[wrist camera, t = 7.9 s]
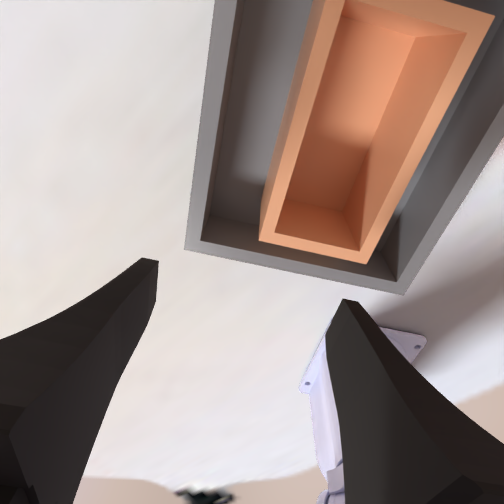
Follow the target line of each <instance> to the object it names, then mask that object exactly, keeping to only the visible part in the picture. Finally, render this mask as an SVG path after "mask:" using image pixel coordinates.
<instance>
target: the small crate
mask: <svg viewBox="0 0 504 504" xmlns="http://www.w3.org/2000/svg"><path fill="white" fill-rule="evenodd" d="M494 18H495V16H494V15H491V14H488V13H484V12H481V11H477V10H474V9H471V8H467V7H464V6H461V5H457V4H454V3H451V2H447V1H444V0H313V2H312V6H311V10H310V14H309V18H308V21H307V25H306V29H305V33H304V37H303V41H302V44H301V48H300V52H299V56H298V60H297V63H296V67H295V71H294V75H293V79H292V83H291V86H290V90H289V94H288V98H287V102H286V105H285V109H284V113H283V117H282V121H281V124H280V128H279V132H278V136H277V140H276V144H275V147H274V151H273V155H272V159H271V163H270V166H269V170H268V174H267V178H266V182H265V186H264V189H263V193H262V197H261V208H260V226H259V241H263V242H267V243H272V244H276V245H281V246H285V247H290V248H294V249H299V250H304V251H308V252H313V253H317V254H322V255H326V256H331V257H335V258H340V259H344V260H349V261H353V262H358V263H362V264H367V262H368V260H369V258H370V256H371V254H372V253H373V251H374V249H375V247H376V245H377V243H378V241H379V239H380V237H381V235H382V233H383V231H384V229H385V228H386V226H387V224H388V222H389V220H390V218H391V216H392V214H393V212H394V210H395V208H396V206H397V204H398V203H399V201H400V199H401V197H402V195H403V193H404V191H405V189H406V187H407V185H408V183H409V181H410V179H411V177H412V176H413V174H414V172H415V170H416V168H417V166H418V164H419V162H420V160H421V158H422V156H423V154H424V152H425V151H426V149H427V147H428V145H429V143H430V141H431V139H432V137H433V135H434V133H435V131H436V129H437V127H438V125H439V124H440V122H441V120H442V118H443V116H444V114H445V112H446V110H447V108H448V106H449V104H450V102H451V100H452V99H453V97H454V95H455V93H456V91H457V89H458V87H459V85H460V83H461V81H462V79H463V77H464V75H465V73H466V72H467V70H468V68H469V66H470V64H471V62H472V60H473V58H474V56H475V54H476V52H477V50H478V48H479V47H480V45H481V43H482V41H483V39H484V37H485V35H486V33H487V31H488V29H489V27H490V25H491V23H492V22H493V20H494Z"/></svg>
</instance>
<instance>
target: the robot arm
mask: <svg viewBox="0 0 504 504" xmlns="http://www.w3.org/2000/svg"><path fill="white" fill-rule="evenodd" d="M158 264H159V261H157V260H152V259H147V258H141V259H139V260H138V261H137V262H135V263H134V264H133V265H131V266H130V267H129V268H128V269H126V270H125V271H124V272H122V273H121V274H120V275H118V276H117V277H116V278H114V279H113V280H111V281H110V282H109V283H107V284H106V285H104V286H103V287H102V288H100V289H99V290H97V291H95V292H94V293H92V294H91V295H89V296H88V297H86V298H84V299H83V300H81V301H80V302H78V303H76V304H75V305H73V306H71V307H69V308H68V309H66V310H64V311H62V312H60V313H58V314H57V315H55V316H53V317H51V318H49V319H47V320H45V321H42V322H40V323H38V324H36V325H33V326H31V327H29V328H27V329H25V330H22V331H20V332H18V333H16V334H13V335H11V336H8V337H6V338H3V339H0V504H73V501H74V498H75V495H76V492H77V490H78V487H79V484H80V481H81V478H82V475H83V473H84V470H85V467H86V464H87V462H88V459H89V456H90V453H91V451H92V448H93V445H94V442H95V440H96V437H97V434H98V432H99V429H100V427H101V424H102V421H103V419H104V416H105V413H106V411H107V408H108V406H109V403H110V401H111V398H112V396H113V393H114V391H115V388H116V386H117V384H118V382H119V379H120V377H121V375H122V373H123V371H124V369H125V367H126V365H127V364H128V362H129V360H130V358H131V356H132V354H133V352H134V350H135V348H136V346H137V344H138V342H139V340H140V338H141V336H142V334H143V332H144V330H145V328H146V326H147V324H148V321H149V319H150V316H151V313H152V311H153V308H154V305H155V302H156V291H157V278H158ZM426 343H427V340H426V338H425V337H424V336H422V335H417V334H412V333H407V332H402V331H397V330H392V329H387V328H382V327H378V325H377V324H376V323H375V322H374V320H373V319H372V318H371V317H370V315H369V314H368V313H367V312H366V311H365V309H364V308H363V307H362V306H361V305H360V304H359V302H357V301H352V300H347V299H342V301H341V303H340V305H339V307H338V309H337V311H336V313H335V315H334V317H333V319H332V321H331V322H330V324H329V326H328V328H327V330H326V332H325V334H324V336H323V338H322V340H321V342H320V344H319V346H318V348H317V350H316V352H315V354H314V356H313V358H312V360H311V362H310V364H309V366H308V368H307V370H306V372H305V374H304V376H303V378H302V380H301V383H300V385H299V391H300V392H301V393H306V394H309V399H310V408H311V417H312V426H313V435H314V443H315V452H316V458H317V462H318V465H319V468H320V470H321V472H322V474H323V476H324V477H325V479H326V481H327V482H328V490H324V491H323V492H321V493H320V495H319V496H318V499H317V503H316V504H504V444H503V443H502V442H500V441H499V440H498V439H496V438H495V437H494V436H492V435H491V434H490V433H488V432H487V431H486V430H484V429H483V428H482V427H480V426H479V425H478V424H476V423H475V422H474V421H473V420H471V419H470V418H469V417H468V416H466V415H465V414H464V413H463V412H462V411H460V410H459V409H458V408H457V407H456V406H455V405H453V404H452V403H451V402H450V401H449V400H448V399H446V398H445V397H444V396H443V395H442V394H441V393H440V392H439V391H438V390H436V389H435V388H434V387H433V386H432V385H431V384H430V383H429V382H428V381H427V380H426V379H425V378H424V377H423V376H422V375H421V374H420V373H419V372H418V371H417V370H416V369H415V368H414V367H413V366H412V365H411V363H412V362H413V360H414V359H415V358H416V356H417V355H418V354H419V352H420V351H421V350H422V349H423V347H424V346H425V345H426Z"/></svg>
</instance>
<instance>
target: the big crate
mask: <svg viewBox="0 0 504 504" xmlns="http://www.w3.org/2000/svg"><path fill="white" fill-rule="evenodd" d="M444 1H447V2H451V3H454V4H457V5H461V6H464V7H467V8H471V9H474V10H477V11H481V12H484V13H488V14H491V15H494V16H495V18H494V20H493V22H492V23H491V25H490V27H489V29H488V31H487V33H486V35H485V37H484V39H483V41H482V43H481V45H480V47H479V48H478V50H477V52H476V54H475V56H474V58H473V60H472V62H471V64H470V66H469V68H468V70H467V72H466V73H465V75H464V77H463V79H462V81H461V83H460V85H459V87H458V89H457V91H456V93H455V95H454V97H453V99H452V100H451V102H450V104H449V106H448V108H447V110H446V112H445V114H444V116H443V118H442V120H441V122H440V124H439V125H438V127H437V129H436V131H435V133H434V135H433V137H432V139H431V141H430V143H429V145H428V147H427V149H426V151H425V152H424V154H423V156H422V158H421V160H420V162H419V164H418V166H417V168H416V170H415V172H414V174H413V176H412V177H411V179H410V181H409V183H408V185H407V187H406V189H405V191H404V193H403V195H402V197H401V199H400V201H399V203H398V204H397V206H396V208H395V210H394V212H393V214H392V216H391V218H390V220H389V222H388V224H387V226H386V228H385V229H384V231H383V233H382V235H381V237H380V239H379V241H378V243H377V245H376V247H375V249H374V251H373V253H372V254H371V256H370V258H369V260H368V262H367V264H362V263H358V262H353V261H349V260H344V259H340V258H335V257H331V256H326V255H322V254H317V253H313V252H308V251H304V250H299V249H294V248H290V247H285V246H281V245H276V244H272V243H267V242H263V241H259V226H260V208H261V197H262V193H263V189H264V186H265V182H266V178H267V174H268V170H269V166H270V163H271V159H272V155H273V151H274V147H275V144H276V140H277V136H278V132H279V128H280V124H281V121H282V117H283V113H284V109H285V105H286V102H287V98H288V94H289V90H290V86H291V83H292V79H293V75H294V71H295V67H296V63H297V60H298V56H299V52H300V48H301V44H302V41H303V37H304V33H305V29H306V25H307V21H308V18H309V14H310V10H311V6H312V2H313V0H215V4H214V12H213V20H212V28H211V36H210V44H209V52H208V60H207V69H206V77H205V85H204V93H203V101H202V109H201V117H200V125H199V133H198V141H197V149H196V157H195V165H194V173H193V181H192V189H191V197H190V206H189V214H188V222H187V230H186V238H185V246H184V250H188V251H193V252H198V253H202V254H207V255H212V256H217V257H221V258H226V259H231V260H236V261H241V262H245V263H250V264H255V265H260V266H265V267H269V268H274V269H279V270H284V271H289V272H293V273H298V274H303V275H308V276H312V277H317V278H322V279H327V280H332V281H336V282H341V283H346V284H351V285H356V286H360V287H365V288H370V289H375V290H380V291H384V292H389V293H394V294H399V295H404V294H405V292H406V291H407V289H408V287H409V286H410V284H411V283H412V281H413V280H414V278H415V276H416V275H417V273H418V272H419V270H420V268H421V267H422V265H423V264H424V262H425V260H426V259H427V257H428V256H429V254H430V252H431V251H432V249H433V248H434V246H435V245H436V243H437V241H438V240H439V238H440V237H441V235H442V233H443V232H444V230H445V229H446V227H447V225H448V224H449V222H450V221H451V219H452V218H453V216H454V214H455V213H456V211H457V210H458V208H459V206H460V205H461V203H462V202H463V200H464V198H465V197H466V195H467V194H468V192H469V191H470V189H471V187H472V186H473V184H474V183H475V181H476V179H477V178H478V176H479V175H480V173H481V171H482V170H483V168H484V167H485V165H486V164H487V162H488V160H489V159H490V157H491V156H492V154H493V152H494V151H495V149H496V148H497V146H498V144H499V143H500V141H501V140H502V138H503V136H504V0H444Z"/></svg>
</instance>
